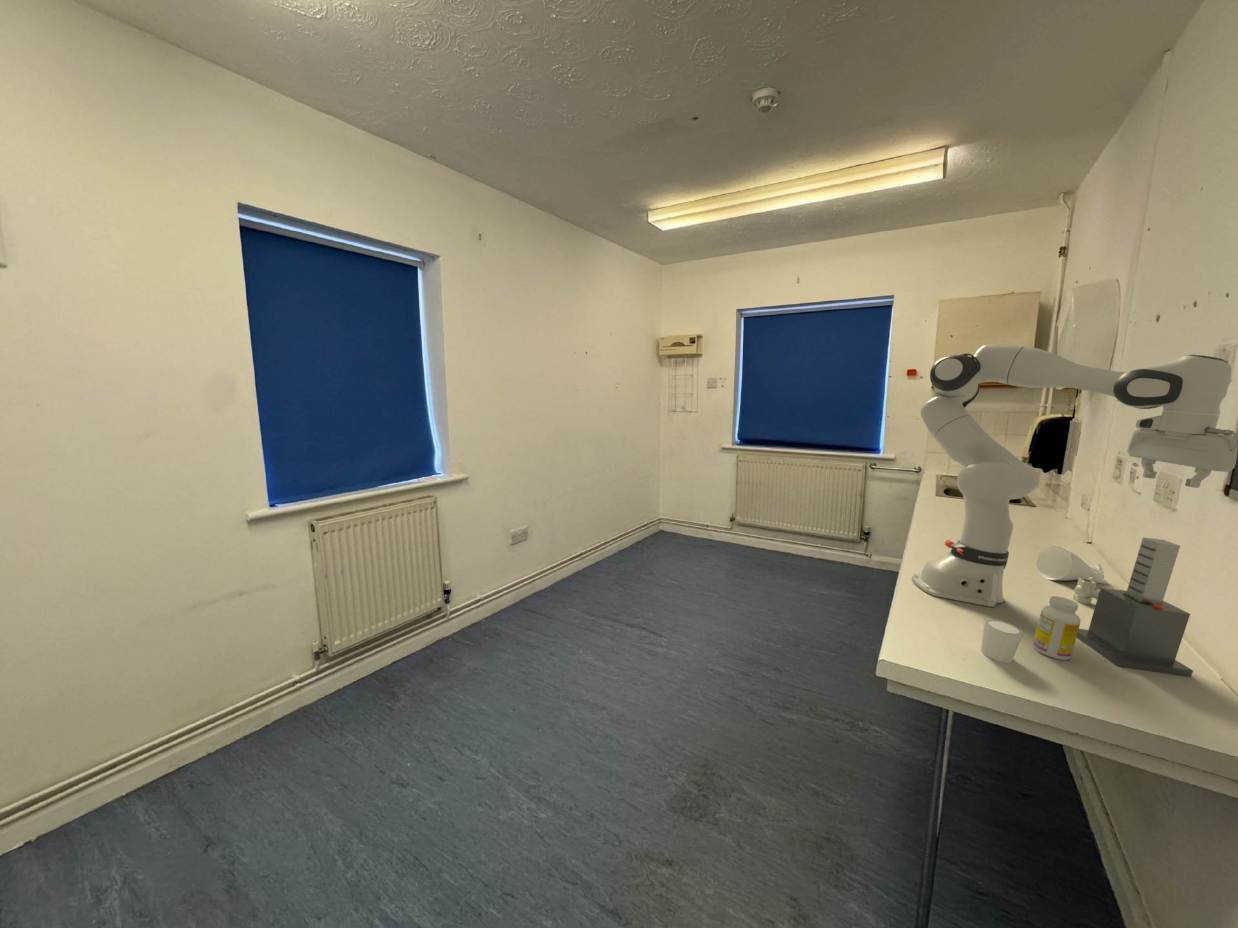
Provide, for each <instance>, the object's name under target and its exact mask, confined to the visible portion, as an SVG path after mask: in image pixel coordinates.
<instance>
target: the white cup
mask: <svg viewBox="0 0 1238 928" xmlns="http://www.w3.org/2000/svg"><path fill="white" fill-rule="evenodd" d="M982 627H983V628H982V636H981V647H980V652H981V653H982V654H983V655H984V656H986V657H987V658H989V659H991V660H993V661H996V662H999V663H1004V664H1005V663H1006V664H1009V663H1012V662H1013V660H1014V657H1015V654H1016V652H1017V650H1018V647H1019V645H1020V642H1021V640H1022V638H1023V635H1024V632H1023V630H1022V629H1021V628H1018V627H1017V626H1016V625H1013V624H1011V623H1009V622H1005V621H1002V620H998V619H993V618H992V619H991V618H988V619H985V620H984V621H983V626H982Z"/></svg>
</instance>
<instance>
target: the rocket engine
mask: <svg viewBox="0 0 1238 928" xmlns="http://www.w3.org/2000/svg"><path fill="white" fill-rule="evenodd" d="M1035 562H1036V563H1035V567H1036V570H1037V572H1038V574H1039V575H1040V576H1041V577H1042V578H1044V579H1045V580H1049V581H1059V582H1061V581H1066V582H1067V581H1078V579H1079V578H1085V579H1089V580H1092V581H1094V582H1096V583H1097V584H1102V585H1107V584H1108V580H1107V579H1104V578H1105V575H1104V570H1103V569H1104V568H1103V567H1102V565H1101V563H1098V562H1097V563H1095V564H1093V565H1090V564H1089V563H1088V562H1086V561H1085V560H1083V559H1082V558H1081V557H1079V556H1078V555H1077V554H1075V553H1074V552H1073V551H1071V550H1070V549H1068V548H1066V547H1064V546H1062V545H1059V544H1050V545H1047V546H1046V547H1044V548H1042V549H1041V550H1040V552H1039V553H1038V554H1037V557H1036V561H1035Z"/></svg>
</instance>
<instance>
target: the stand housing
mask: <svg viewBox="0 0 1238 928" xmlns="http://www.w3.org/2000/svg"><path fill="white" fill-rule="evenodd" d="M1099 590H1100V592H1099V595H1098V599H1097V600H1096V603H1095V606H1094V610H1093V613H1092V616H1091V620H1090V624H1089V626H1088V629H1085V628H1079V629H1078V633H1077V637H1076V639H1078V640H1080V641H1081V642H1082V643H1084V644H1086V645H1087V646H1088V647H1090V649H1093V650H1094V651H1095V652H1096V653H1098V654H1100V655H1101V656H1102V657H1104V658H1105V659H1107V660H1108V661H1109V662H1111V663H1112V664H1113V665H1115V666H1117V667H1122V668H1128V669H1134V670H1141V671H1149V672H1155V673H1161V674H1167V675H1168V674H1169V675H1177V676H1183V677H1184V676H1185V677H1189V678H1190V677H1192V676H1193V672H1194V670H1193V669H1191V668H1190V667H1188V666H1187V665H1185V664H1183V663H1182V662H1179V661H1178V660H1177V659H1176V658H1177V656H1178V651H1179V650H1180V646H1181V642H1182V640H1183V637H1184V634H1185V631H1186V628H1187V626H1188V621H1189V619H1190V617H1191V613H1189V612H1187V611H1185V610H1183V609H1181V608H1180V607H1177V606H1175V605H1173V604H1171V603H1169V602H1168V601H1167V602H1166V601H1165V600H1163V602H1162V603H1163V605H1160V604H1156V603H1154V604H1153V605H1147V604H1140V603H1138V602H1136V601H1134V600H1132V599H1131V598H1129V597H1127V596H1125V593H1126V592H1127V590H1123V589H1115V588H1109V587H1108V588H1107V587H1100V589H1099Z"/></svg>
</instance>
